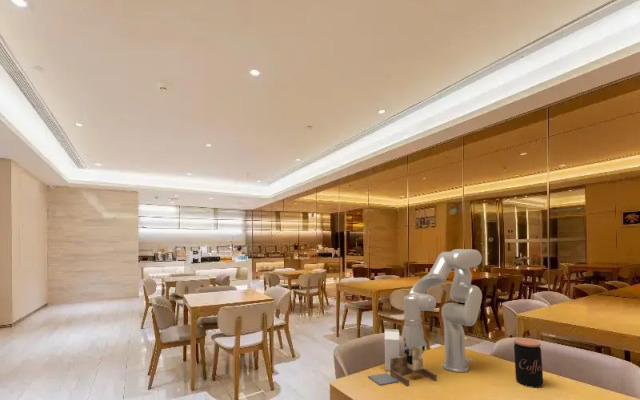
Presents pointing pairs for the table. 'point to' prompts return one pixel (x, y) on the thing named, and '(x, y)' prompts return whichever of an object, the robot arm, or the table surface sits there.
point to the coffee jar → (528, 362)
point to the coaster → (383, 379)
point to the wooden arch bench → (406, 370)
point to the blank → (416, 359)
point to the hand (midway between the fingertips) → (414, 362)
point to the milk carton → (391, 346)
